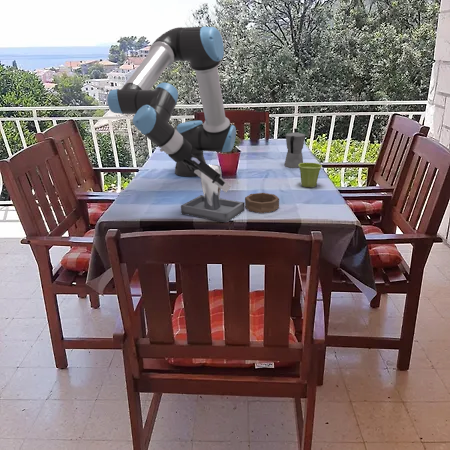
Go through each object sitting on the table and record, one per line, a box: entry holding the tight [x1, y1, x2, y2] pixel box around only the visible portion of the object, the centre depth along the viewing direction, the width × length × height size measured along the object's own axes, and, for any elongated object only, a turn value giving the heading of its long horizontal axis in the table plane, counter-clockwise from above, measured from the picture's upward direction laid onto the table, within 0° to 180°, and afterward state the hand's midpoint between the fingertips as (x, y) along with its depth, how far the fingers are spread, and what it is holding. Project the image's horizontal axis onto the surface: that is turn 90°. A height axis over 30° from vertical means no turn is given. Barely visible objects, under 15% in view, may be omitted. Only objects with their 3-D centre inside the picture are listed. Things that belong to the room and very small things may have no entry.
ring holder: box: [244, 192, 280, 214], centre depth 155 cm, size 11×11×4 cm
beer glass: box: [200, 164, 223, 211], centre depth 148 cm, size 7×7×15 cm
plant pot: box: [298, 162, 323, 188], centre depth 177 cm, size 9×9×9 cm
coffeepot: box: [284, 128, 306, 169], centre depth 205 cm, size 15×9×18 cm, turn 161°
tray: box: [180, 194, 245, 223], centre depth 151 cm, size 18×13×3 cm
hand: (217, 184), depth 148 cm, fingers open, 13 cm apart
